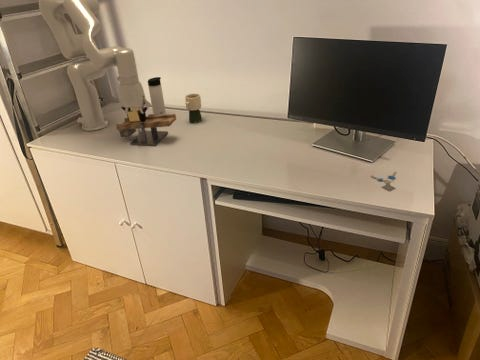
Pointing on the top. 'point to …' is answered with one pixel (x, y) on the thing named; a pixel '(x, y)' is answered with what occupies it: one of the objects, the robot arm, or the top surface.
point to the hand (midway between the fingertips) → (137, 120)
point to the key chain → (387, 186)
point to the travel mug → (156, 96)
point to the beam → (145, 124)
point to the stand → (148, 136)
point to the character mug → (193, 107)
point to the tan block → (134, 115)
